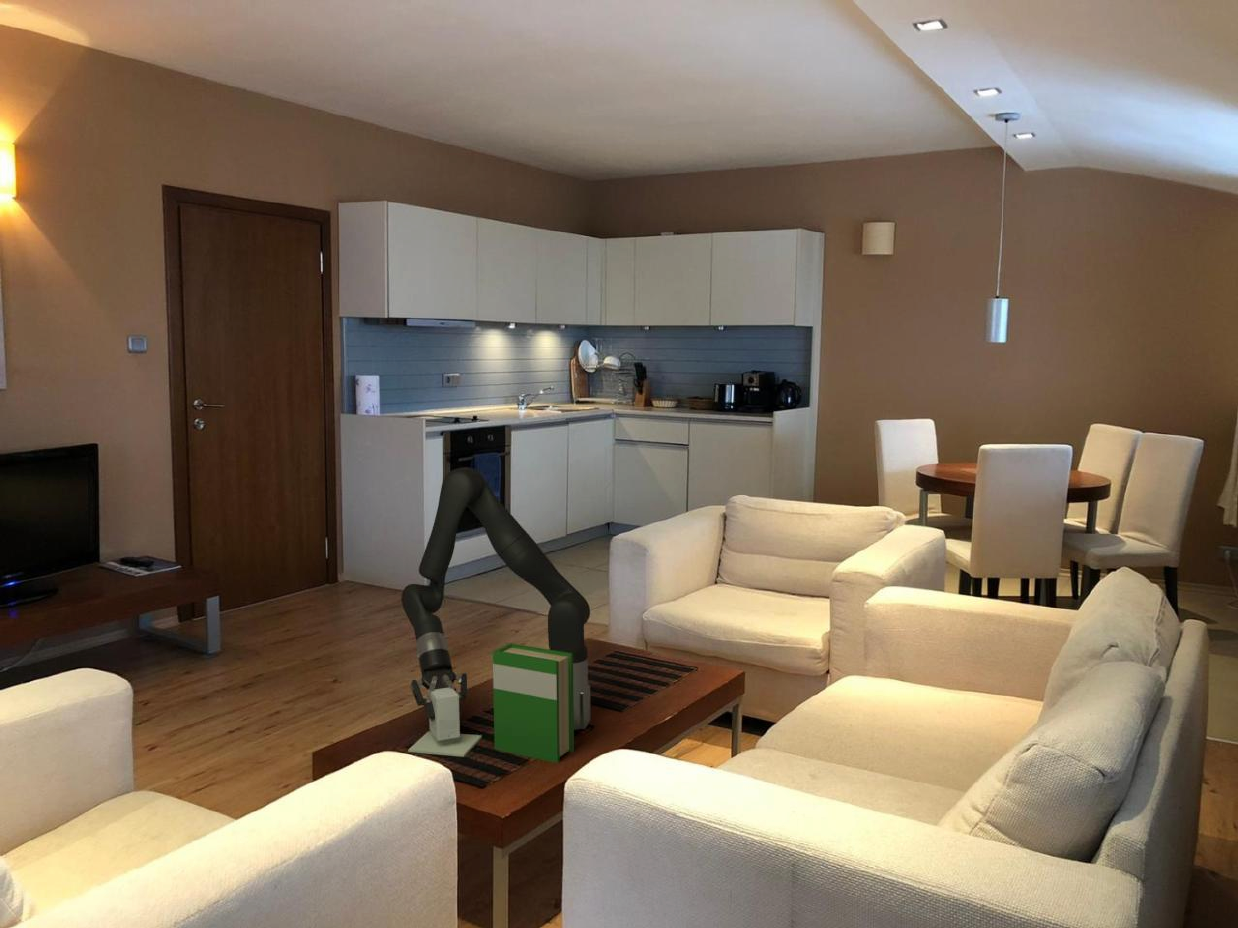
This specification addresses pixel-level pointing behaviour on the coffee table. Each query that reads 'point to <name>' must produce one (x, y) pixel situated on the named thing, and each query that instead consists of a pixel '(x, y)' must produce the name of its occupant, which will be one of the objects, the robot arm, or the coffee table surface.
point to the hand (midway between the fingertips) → (446, 717)
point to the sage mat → (445, 745)
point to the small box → (445, 714)
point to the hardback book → (533, 701)
